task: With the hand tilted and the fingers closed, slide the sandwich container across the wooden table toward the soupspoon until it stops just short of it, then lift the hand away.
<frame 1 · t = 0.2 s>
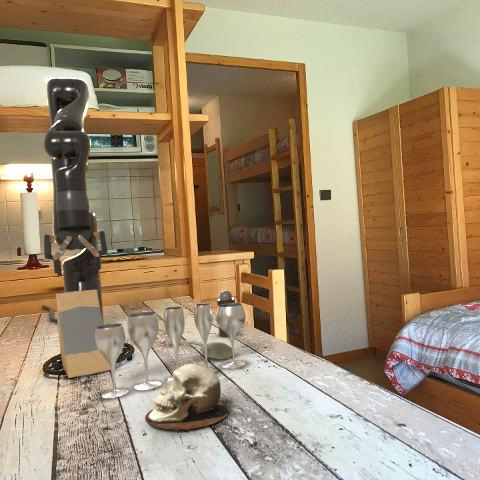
hand: (78, 273, 130), 17 cm above the table, tool pointing down, fingers open, 8 cm apart
skull: (187, 418, 77), on the table
sandwich container: (86, 366, 109), on the table
soupspoon: (198, 352, 115), on the table
goblet set: (180, 379, 96), on the table
pepper mill: (228, 334, 129), on the table
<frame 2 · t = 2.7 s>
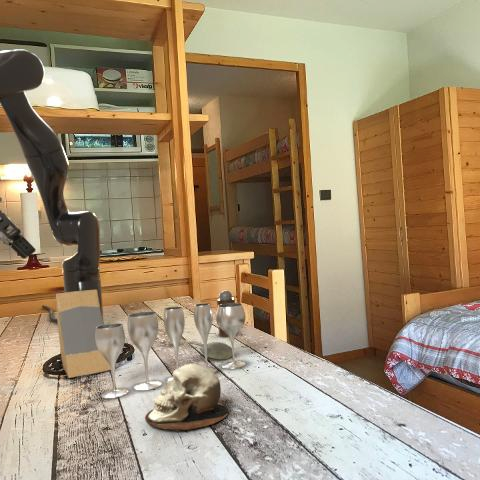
hand: (29, 255, 107), 24 cm above the table, tool tilted 35°, fingers open, 8 cm apart
nothing on the table moved.
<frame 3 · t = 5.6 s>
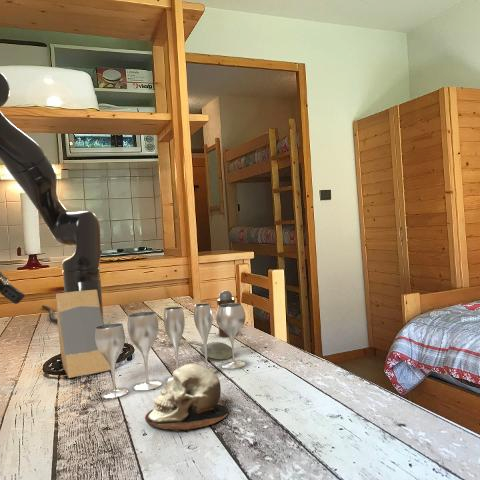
hand: (21, 300, 104), 15 cm above the table, tool tilted 45°, fingers closed
nothing on the table moved.
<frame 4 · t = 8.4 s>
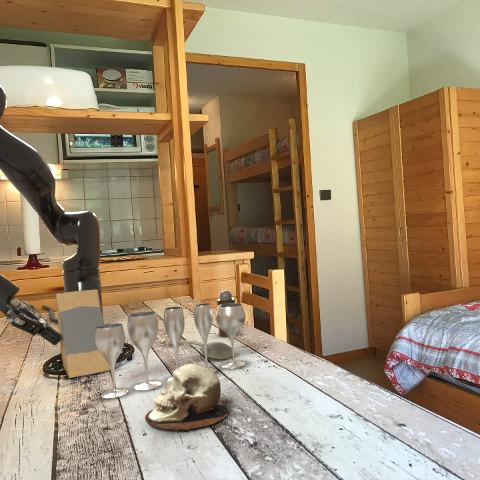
hand: (59, 341, 107), 6 cm above the table, tool tilted 45°, fingers closed
sandwich container: (87, 366, 109), on the table, touching gripper
everything else where it was.
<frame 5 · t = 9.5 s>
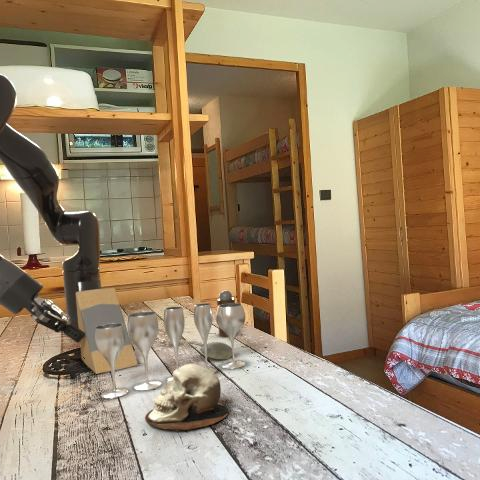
hand: (81, 338, 108), 6 cm above the table, tool tilted 45°, fingers closed
sandwich container: (108, 363, 110), on the table, touching gripper
everything else where it was.
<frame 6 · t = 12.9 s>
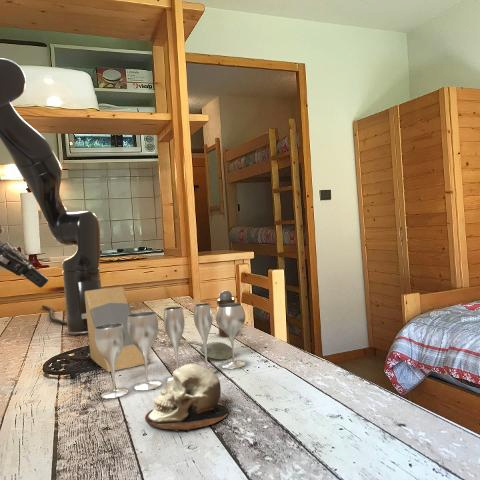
hand: (45, 283, 105), 18 cm above the table, tool tilted 45°, fingers closed
sandwich container: (118, 361, 111), on the table
everything else where it was.
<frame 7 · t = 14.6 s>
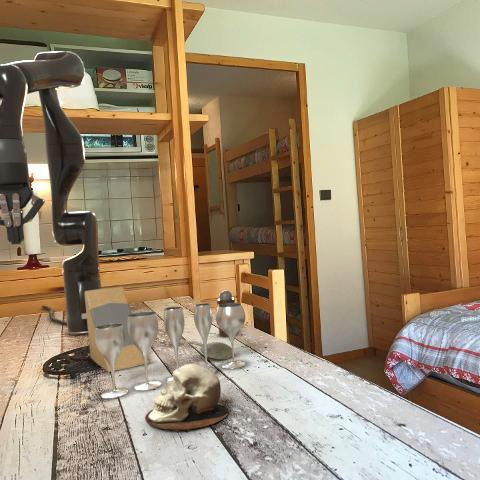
hand: (16, 244, 110), 26 cm above the table, tool pointing down, fingers closed
nothing on the table moved.
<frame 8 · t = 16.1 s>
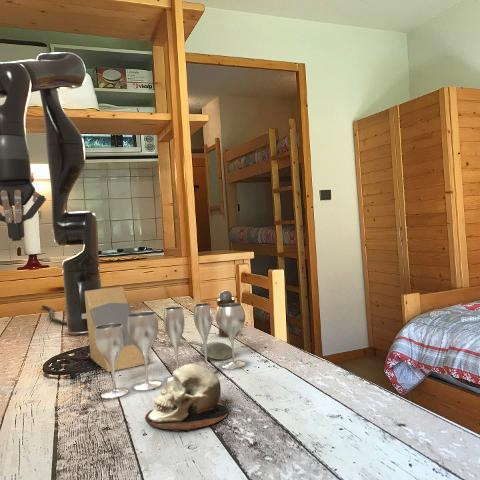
hand: (16, 240, 110), 27 cm above the table, tool pointing down, fingers closed
nothing on the table moved.
at the end: sandwich container 16.8 cm from the soupspoon (horizontally); sandwich container moved 6.4 cm from its start; sandwich container tilted 0° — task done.
